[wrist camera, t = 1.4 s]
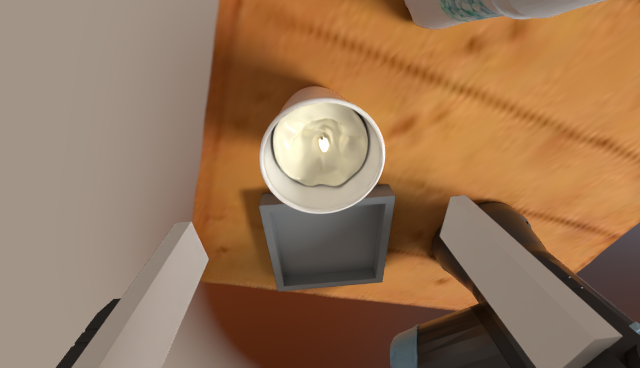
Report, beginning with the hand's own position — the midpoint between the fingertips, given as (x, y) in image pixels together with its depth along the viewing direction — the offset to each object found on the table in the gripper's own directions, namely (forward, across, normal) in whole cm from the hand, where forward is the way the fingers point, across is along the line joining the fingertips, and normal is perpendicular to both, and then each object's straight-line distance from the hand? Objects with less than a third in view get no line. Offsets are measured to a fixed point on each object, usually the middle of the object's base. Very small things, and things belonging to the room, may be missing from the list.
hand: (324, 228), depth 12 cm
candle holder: (+19, -1, 0) cm, 19 cm away
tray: (+19, -1, +19) cm, 26 cm away
